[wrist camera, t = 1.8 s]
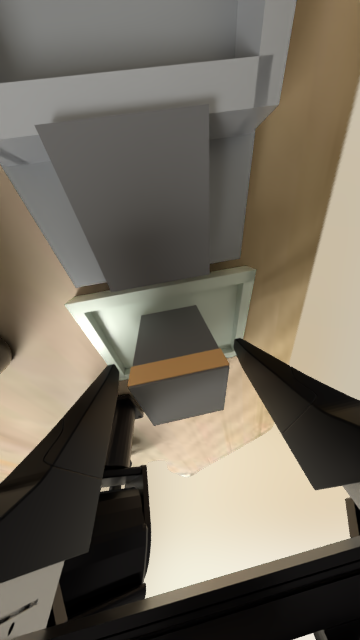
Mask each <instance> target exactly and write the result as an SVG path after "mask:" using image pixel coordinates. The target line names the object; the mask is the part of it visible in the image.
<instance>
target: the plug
mask: <svg viewBox="0 0 360 640" xmlns="http://www.w3.org/2000/svg"><path fill="white" fill-rule="evenodd" d="M228 373H229V363H228V361H227V359H226V357H225V355H224V353H223V352H222V350H221V348H219V347H218V345H217V343H216V341H215V339H214V338H213V336H212V334H211V332H210V330H209V328H208V326H207V324H206V323H205V321H204V319H203V317H202V315H201V313H200V311H199V310H198V308H197V306H196V305H193V306H188V307H183V308H178V309H172V310H167V311H162V312H157V313H152V314H146V315H141V320H140V326H139V331H138V337H137V343H136V349H135V355H134V360H133V366H132V367H131V369H130V375H129V380H128V386H127V387H128V388H129V390H130V392H131V393H132V395H133V396H134V398H135V399H136V400H137V402H138V403H139V405H140V406H141V408H142V409H143V411H144V412H145V413H146V415H147V416H148V418H149V419H150V421H151V422H152V424H153V425H154V426H156V425H160V424H164V423H169V422H173V421H177V420H181V419H186V418H190V417H194V416H199V415H203V414H207V413H212V412H216V411H220V410H224V403H225V395H226V388H227V380H228Z"/></svg>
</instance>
